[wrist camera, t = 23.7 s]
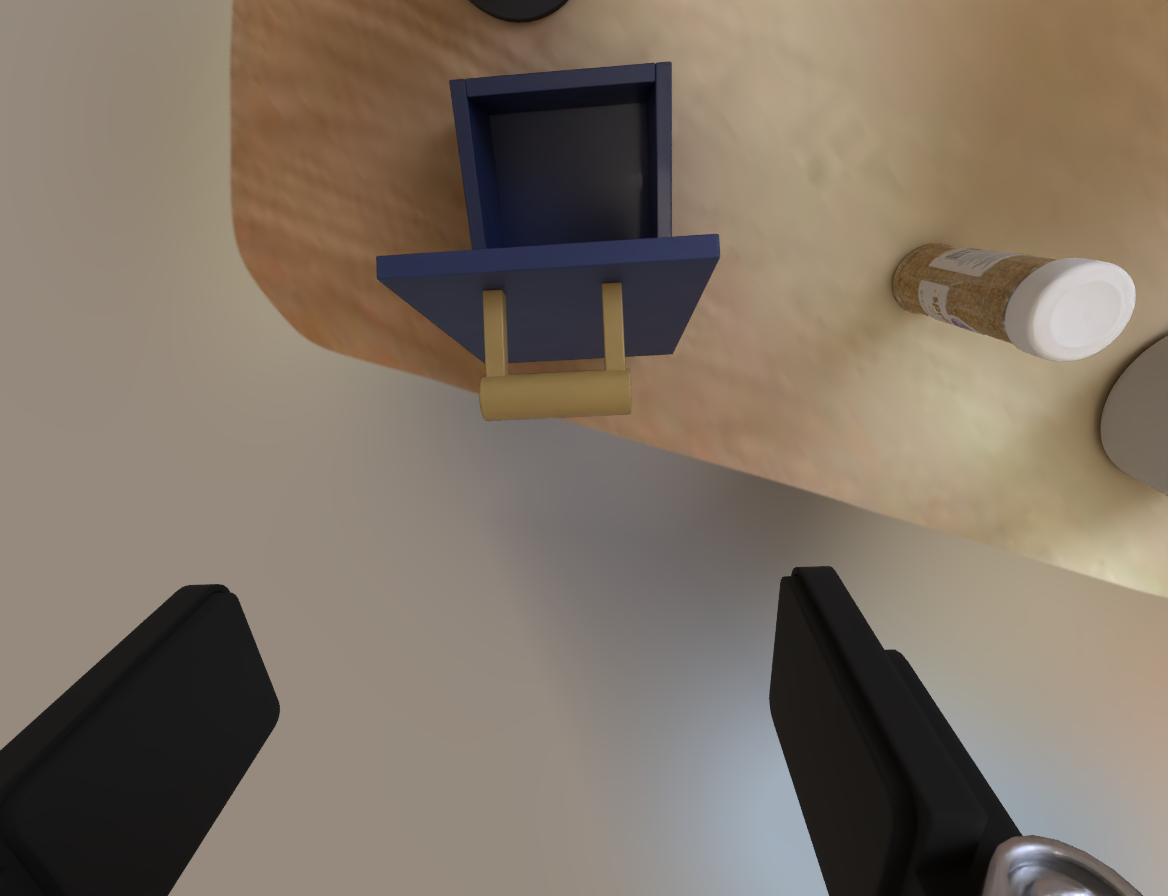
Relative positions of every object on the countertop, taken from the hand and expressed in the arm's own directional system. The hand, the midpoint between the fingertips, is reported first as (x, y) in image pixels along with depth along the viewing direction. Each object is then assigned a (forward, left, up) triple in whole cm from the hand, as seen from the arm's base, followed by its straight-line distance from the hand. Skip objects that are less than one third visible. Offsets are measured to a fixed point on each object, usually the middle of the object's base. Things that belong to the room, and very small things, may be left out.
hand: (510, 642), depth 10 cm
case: (-6, +1, -32) cm, 33 cm away
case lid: (-2, 0, -18) cm, 18 cm away
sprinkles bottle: (+3, +23, -32) cm, 40 cm away
